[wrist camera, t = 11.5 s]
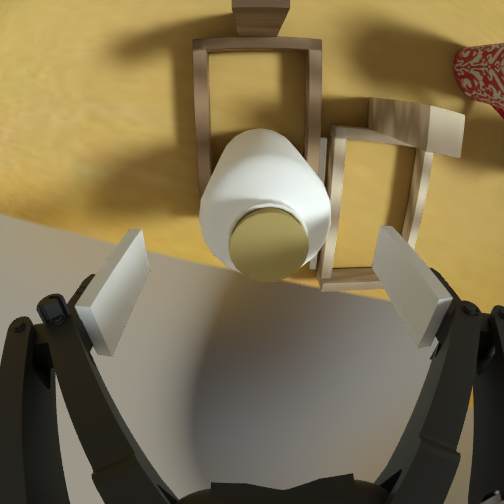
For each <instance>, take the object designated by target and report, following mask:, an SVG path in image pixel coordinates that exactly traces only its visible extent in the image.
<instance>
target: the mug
mask: <svg viewBox="0 0 504 504" xmlns="http://www.w3.org/2000/svg"><path fill="white" fill-rule="evenodd" d="M454 72H455V76H456V79H457V82H458V84H459V86H460V88H461V89H462V91H463V92H464V93H465V94H466V95H467V96H468V97H469V98H471V99H473V100H475V101H478V102H483V103H487V104H490V105H491V106H492V107H493V108H494V109H495V110H496V111H497V112H498V113H499V114H500V116H501V117H502V118H503V119H504V43H500V44H490V45H483V46H474V47H467V48H464V49H461V50H460V51H459V52H458V53H457V54H456V57H455V60H454Z"/></svg>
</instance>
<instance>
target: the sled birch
mask: <svg viewBox="0 0 504 504" xmlns="http://www.w3.org/2000/svg"><path fill="white" fill-rule="evenodd" d="M464 123H465V115H463V114H460V113H457V112H453V111H450V110H446V109H443V108H439V107H435V106H431V105H425V104H419V103H413V102H406V101H398V100H390V99H381V98H370V97H369V118H368V128H363V127H354V126H343V125H331V124H330V145H329V161H328V176H327V189H326V192H327V194H328V197H329V199H330V205H331V226H330V229H329V232H328V235H327V238H326V241H325V243H324V244H323V246H322V247H321V249H320V258H319V266H318V274H317V279H318V282H319V285H320V288H321V291H347V290H367V289H384V287H383V286H382V284H381V282H380V280H379V279H378V277H377V275H376V274H375V272H374V271H373V269H372V268H354V269H332V266H333V260H334V253H335V246H336V239H337V231H338V224H339V215H340V207H341V198H342V188H343V178H344V166H345V153H346V139H351V140H362V141H372V142H381V143H389V144H396V145H404V146H411V147H416V156H415V163H414V170H413V177H412V183H411V189H410V195H409V201H408V206H407V211H406V216H405V221H404V225H403V230H402V235H401V236H402V237H403V239H404V240H405V241H406V242H407V243H408V244H409V245H410V246H411V247H412V249H413V250H414V247H415V243H416V240H417V236H418V231H419V227H420V223H421V219H422V214H423V210H424V205H425V200H426V195H427V189H428V184H429V178H430V172H431V166H432V159H433V153H435V154H441V155H446V156H452V157H457V158H460V156H461V149H462V141H463V133H464Z"/></svg>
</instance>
